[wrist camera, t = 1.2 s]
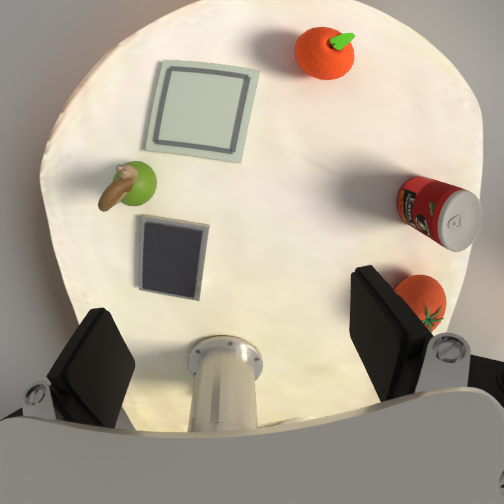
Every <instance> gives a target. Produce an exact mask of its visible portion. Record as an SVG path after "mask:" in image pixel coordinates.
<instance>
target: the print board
mask: <svg viewBox="0 0 504 504" xmlns="http://www.w3.org/2000/svg"><path fill="white" fill-rule="evenodd" d="M259 73H260V70H255V69H249V68H243V67H237V66H230V65H223V64H215V63H206V62H195V61H180V60H163V63H162V67H161V71H160V75H159V79H158V84H157V88H156V93H155V98H154V103H153V108H152V113H151V118H150V124H149V130H148V136H147V142H146V149H145V150H147V151H157V152H166V153H175V154H183V155H190V156H198V157H205V158H211V159H218V160H224V161H230V162H236V163H241V160H242V155H243V150H244V145H245V140H246V135H247V130H248V125H249V120H250V115H251V111H252V106H253V101H254V96H255V92H256V87H257V82H258V78H259Z"/></svg>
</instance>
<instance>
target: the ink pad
mask: <svg viewBox="0 0 504 504" xmlns="http://www.w3.org/2000/svg"><path fill="white" fill-rule="evenodd" d="M209 227H210V225H208V224H202V223H196V222H189V221H183V220H177V219H170V218H164V217H157V216H151V215H143V216H141V232H140V254H139V290H142V291H147V292H152V293H158V294H163V295H168V296H174V297H180V298H185V299H191V300H197V301H199V299H200V293H201V284H202V277H203V269H204V261H205V254H206V247H207V240H208V233H209Z"/></svg>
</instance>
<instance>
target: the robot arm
mask: <svg viewBox="0 0 504 504" xmlns="http://www.w3.org/2000/svg"><path fill="white" fill-rule="evenodd" d="M349 331H350V337H351V339H352V341H353V344H354V346H355V348H356V350H357V352H358V354H359V356H360V358H361V360H362V362H363V364H364V366H365V369H366V371H367V373H368V375H369V377H370V379H371V382H372V384H373V386H374V388H375V390H376V393H377V395H378V397H379V399H380V401H381V402H380V403H377V404H374V405H370V406H367V407H363V408H360V409H356V410H352V411H348V412H344V413H340V414H335V415H331V416H326V417H322V418H317V419H312V420H307V421H302V422H296V423H290V424H284V425H277V426H270V427H262V428H258V419H257V406H256V392H255V380H257V378H258V377H259V376H260V374H261V372H262V368H263V361H262V357H261V354H260V352H259V351H258V350H257V349H256V347H255V346H253V345H252V344H250V343H249V342H247V341H245V340H243V339H240V338H236V337H231V336H217V337H211V338H207V339H205V340H203V341H201V342H199V343H198V344H196V345H195V346H194V347H193V349H192V350H191V352H190V354H189V359H188V366H189V370H190V372H191V374H192V375H193V376H194V377H195V381H194V388H193V395H192V402H191V409H190V417H189V424H188V432H152V431H136V430H123V429H114V428H115V425H116V421H117V418H118V415H119V412H120V409H121V406H122V403H123V400H124V397H125V394H126V391H127V388H128V386H129V383H130V380H131V377H132V374H133V372H134V369H135V360H134V358H133V356H132V355H131V353H130V351H129V349H128V347H127V345H126V344H125V342H124V340H123V338H122V336H121V334H120V332H119V330H118V328H117V326H116V324H115V322H114V320H113V318H112V316H111V314H110V312H109V311H107V310H106V309H105V308H95V309H91V310H90V311H89V312H88V313H87V315H86V316H85V318H84V319H83V321H82V322H81V323H80V325H79V327H78V328H77V329H76V331H75V332H74V334H73V335H72V337H71V338H70V340H69V341H68V343H67V344H66V346H65V348H64V349H63V351H62V352H61V354H60V355H59V357H58V358H57V360H56V362H55V363H54V365H53V367H52V368H51V370H50V372H49V373H48V375H47V378H48V379H49V381H50V382H51V385H50V386H49V385H48V384H47V383H46V382H43V381H40V382H36V383H34V384H32V385H31V386H29V387H28V388H27V389H26V391H25V392H24V394H23V397H22V408H21V409H19V410H17V411H15V412H14V413H12V414H10V415H8V416H7V417H5V418H3V419H2V420H0V504H504V362H501V361H497V360H492V359H488V358H484V357H479V356H475V355H471V354H470V347H469V345H468V343H467V341H465V340H464V338H462V337H460V336H459V335H456V334H453V333H441V334H438V335H436V336H433V335H432V333H431V332H430V331H429V330H428V328H427V327H426V326H425V325H424V323H423V322H422V321H421V320H420V319H419V317H418V316H417V315H416V314H415V313H414V311H413V310H412V309H411V308H410V307H409V305H408V304H407V303H406V302H405V301H404V300H403V298H402V297H401V296H400V295H398V294H397V293H396V292H395V291H394V290H393V289H392V288H391V286H390V285H389V284H388V283H387V282H386V281H385V280H384V278H383V277H382V276H381V275H380V274H379V273H378V272H377V271H376V270H375V268H374V267H373V266H372V265H368V266H363V267H358V268H356V269H355V272H353V273H351V301H350V327H349Z"/></svg>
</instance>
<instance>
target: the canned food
mask: <svg viewBox="0 0 504 504" xmlns="http://www.w3.org/2000/svg"><path fill="white" fill-rule="evenodd" d="M397 208H398V212H399V214H400V216H401V218H402V219H403V220H404V222H405V223H407V224H408V225H410V226H411V227H413V228H415V229H416V230H418V231H419V232H421V233H423V234H424V235H426V236H427V237H429V238H431V239H432V240H434V241H435V242H437V243H438V244H440V245H441V246H443V247H445V248H446V249H448V250H450V251H453V252H459V251H462V250H464V249H466V248H467V247H469V246H470V245H471V244H472V243H473V241H474V240H475V238H476V237H477V235H478V233H479V230H480V227H481V223H482V207H481V204H480V201H479V199H478V197H477V196H476V195H475V194H473V193H472V192H470V191H468V190H465V189H463V188H460V187H457V186H453V185H450V184H447V183H444V182H440V181H437V180H434V179H430V178H427V177H422V176H421V177H414V178H411V179H409V180H408V181H407V182H405V183H404V185H403V186H402V187H401V189H400V191H399V194H398V198H397Z"/></svg>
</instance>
